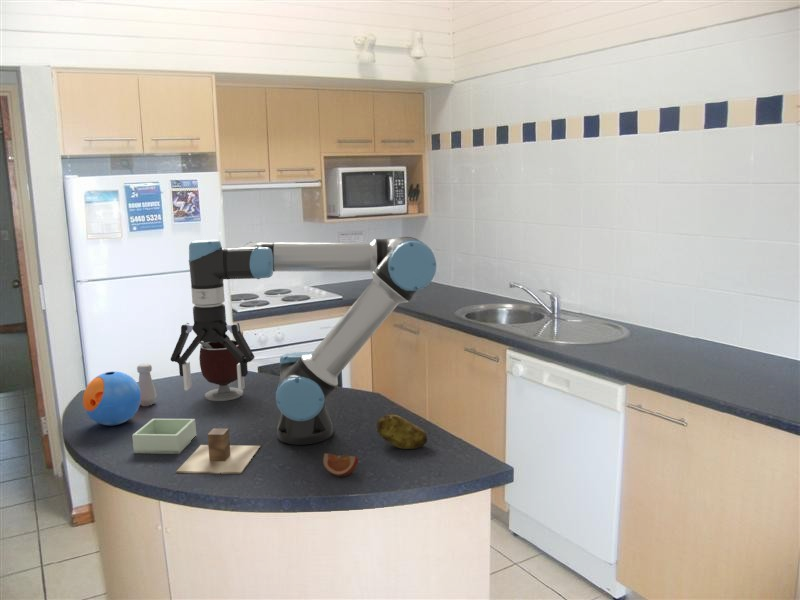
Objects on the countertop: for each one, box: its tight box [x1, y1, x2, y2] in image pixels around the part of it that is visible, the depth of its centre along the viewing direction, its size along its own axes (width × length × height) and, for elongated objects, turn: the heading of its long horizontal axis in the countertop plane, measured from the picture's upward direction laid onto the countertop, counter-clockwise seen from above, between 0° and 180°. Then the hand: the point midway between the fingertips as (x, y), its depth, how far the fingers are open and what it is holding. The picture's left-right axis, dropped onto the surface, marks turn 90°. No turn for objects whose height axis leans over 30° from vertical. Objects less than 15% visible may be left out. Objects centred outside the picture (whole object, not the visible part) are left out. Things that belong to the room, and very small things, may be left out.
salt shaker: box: [136, 363, 158, 407], centre depth 210 cm, size 6×6×13 cm
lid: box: [175, 428, 261, 475], centre depth 167 cm, size 16×16×8 cm
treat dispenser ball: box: [82, 371, 141, 426], centre depth 193 cm, size 16×15×15 cm
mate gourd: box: [198, 339, 244, 402], centre depth 216 cm, size 16×14×20 cm
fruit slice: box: [322, 452, 359, 477], centre depth 158 cm, size 8×7×5 cm
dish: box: [131, 418, 197, 455], centre depth 177 cm, size 12×12×5 cm
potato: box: [375, 413, 428, 450], centre depth 173 cm, size 8×13×8 cm, turn 55°
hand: (214, 388), depth 164 cm, fingers open, 13 cm apart
